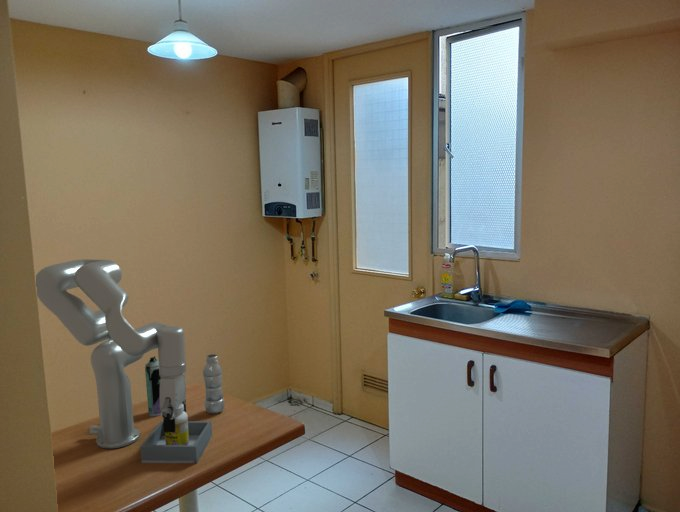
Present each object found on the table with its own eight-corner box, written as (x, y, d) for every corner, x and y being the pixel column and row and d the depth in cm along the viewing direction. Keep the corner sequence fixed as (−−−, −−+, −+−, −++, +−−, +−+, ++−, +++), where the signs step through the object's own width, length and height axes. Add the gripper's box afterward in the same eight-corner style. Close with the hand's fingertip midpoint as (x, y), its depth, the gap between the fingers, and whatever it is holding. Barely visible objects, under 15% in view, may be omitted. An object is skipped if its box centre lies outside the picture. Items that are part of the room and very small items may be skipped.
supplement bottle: (161, 448, 164) (158, 407, 162) (177, 439, 169) (175, 399, 167) (177, 454, 160) (175, 412, 158) (193, 444, 166) (191, 403, 164)
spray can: (162, 416, 188) (158, 359, 185) (146, 416, 188) (141, 360, 185) (167, 409, 193) (163, 354, 190) (151, 409, 193) (147, 354, 190)
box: (141, 462, 157) (140, 446, 157) (161, 436, 173) (160, 421, 173) (196, 463, 157) (195, 446, 156) (212, 436, 173) (211, 421, 172)
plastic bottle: (220, 416, 187) (217, 359, 184) (201, 415, 188) (198, 358, 185) (227, 408, 193) (225, 353, 190) (209, 407, 194) (206, 352, 191)
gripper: (170, 358, 170) (173, 411, 173) (148, 379, 153) (152, 437, 156) (194, 358, 170) (196, 411, 172) (175, 380, 153) (178, 438, 155)
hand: (175, 423), depth 164 cm, fingers open, 9 cm apart
